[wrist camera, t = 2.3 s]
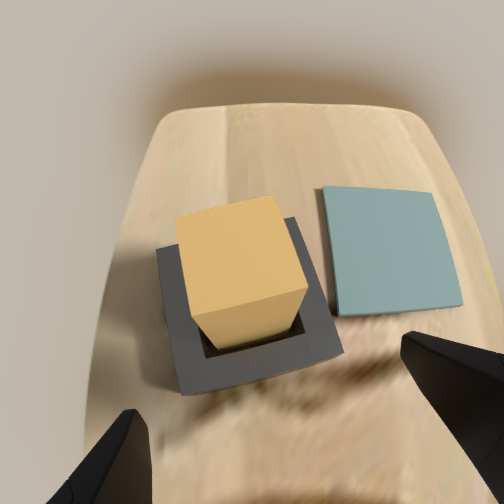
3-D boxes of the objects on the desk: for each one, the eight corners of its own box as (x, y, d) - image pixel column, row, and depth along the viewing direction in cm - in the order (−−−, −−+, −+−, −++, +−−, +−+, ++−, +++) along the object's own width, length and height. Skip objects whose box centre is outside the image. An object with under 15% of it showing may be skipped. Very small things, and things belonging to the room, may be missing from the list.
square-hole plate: (290, 236, 25) (294, 216, 22) (333, 358, 20) (344, 352, 18) (166, 266, 24) (156, 249, 21) (191, 396, 19) (181, 395, 17)
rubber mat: (429, 196, 27) (431, 192, 27) (459, 306, 22) (463, 304, 21) (321, 190, 27) (322, 186, 27) (337, 316, 22) (339, 314, 21)
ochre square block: (268, 274, 24) (274, 194, 15) (286, 335, 21) (308, 286, 13) (205, 289, 23) (174, 217, 14) (219, 352, 21) (191, 316, 12)
